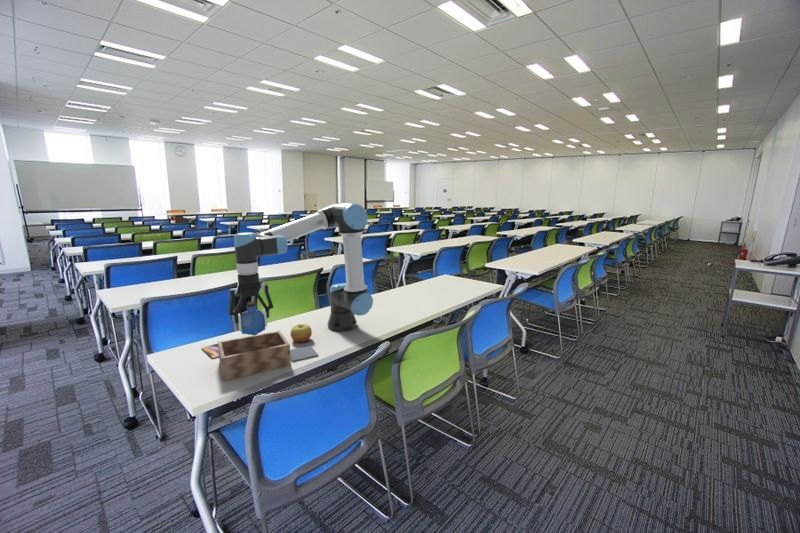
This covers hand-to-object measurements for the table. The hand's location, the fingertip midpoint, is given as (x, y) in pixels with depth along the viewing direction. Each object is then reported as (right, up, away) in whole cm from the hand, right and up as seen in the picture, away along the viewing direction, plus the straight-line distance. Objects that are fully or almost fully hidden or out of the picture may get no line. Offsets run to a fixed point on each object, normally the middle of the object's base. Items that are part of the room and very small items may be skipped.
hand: (253, 328), depth 137 cm
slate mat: (+16, -13, +12) cm, 24 cm away
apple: (+12, -11, +27) cm, 31 cm away
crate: (0, -15, +3) cm, 15 cm away
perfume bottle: (0, -2, 0) cm, 2 cm away
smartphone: (-23, -13, +14) cm, 30 cm away
